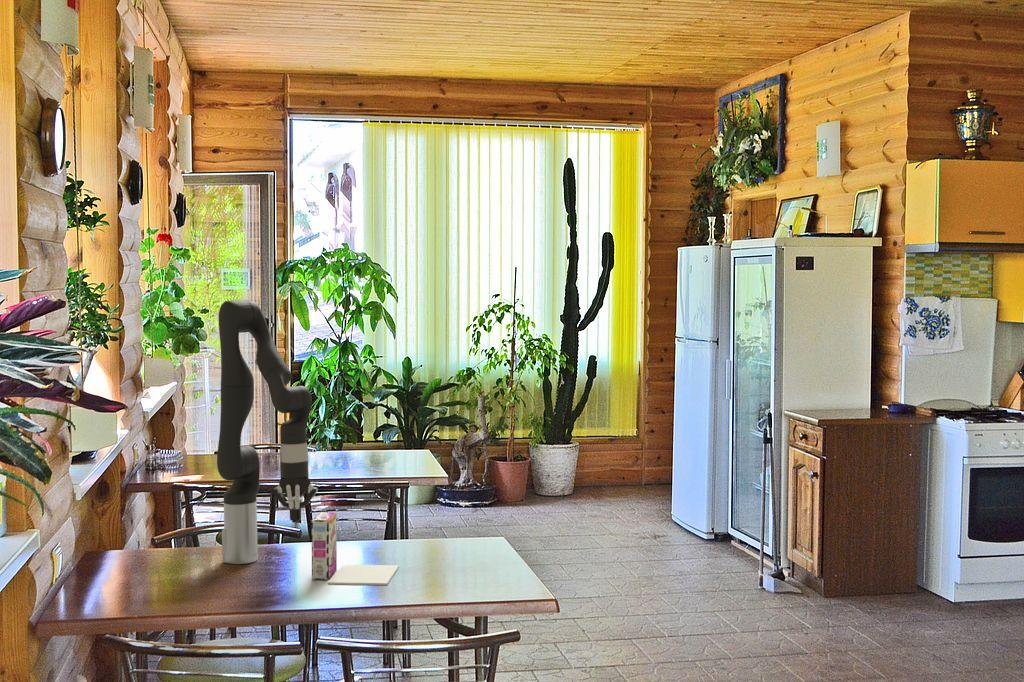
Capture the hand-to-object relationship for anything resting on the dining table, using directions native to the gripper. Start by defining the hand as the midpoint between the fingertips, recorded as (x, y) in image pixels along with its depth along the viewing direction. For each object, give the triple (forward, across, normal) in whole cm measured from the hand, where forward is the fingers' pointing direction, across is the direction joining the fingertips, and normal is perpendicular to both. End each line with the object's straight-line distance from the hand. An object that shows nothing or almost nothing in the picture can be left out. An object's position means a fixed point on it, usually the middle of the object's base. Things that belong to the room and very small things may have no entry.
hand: (295, 521), depth 297 cm
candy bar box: (+15, +8, 0) cm, 17 cm away
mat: (+15, +19, 0) cm, 24 cm away
